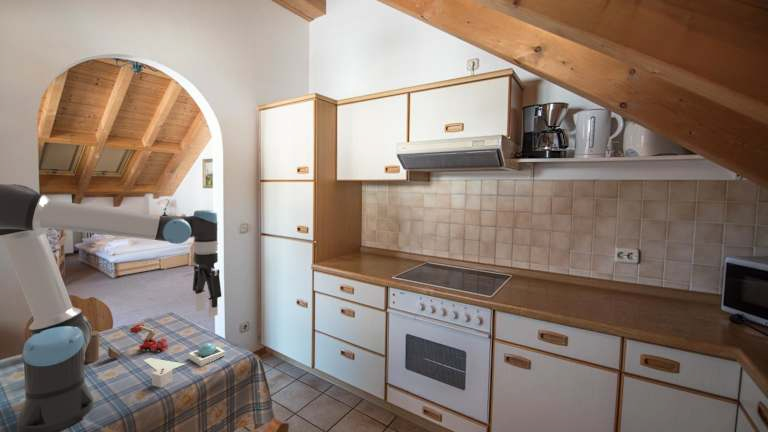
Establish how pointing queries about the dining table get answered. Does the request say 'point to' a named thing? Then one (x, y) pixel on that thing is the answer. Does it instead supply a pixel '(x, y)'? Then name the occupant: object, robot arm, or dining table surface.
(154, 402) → the dining table surface
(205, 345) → the light blue round piece
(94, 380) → the dining table surface
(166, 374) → the die
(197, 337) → the dining table surface
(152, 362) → the pad
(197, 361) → the housing
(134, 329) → the toy fire truck
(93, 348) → the wooden block set
